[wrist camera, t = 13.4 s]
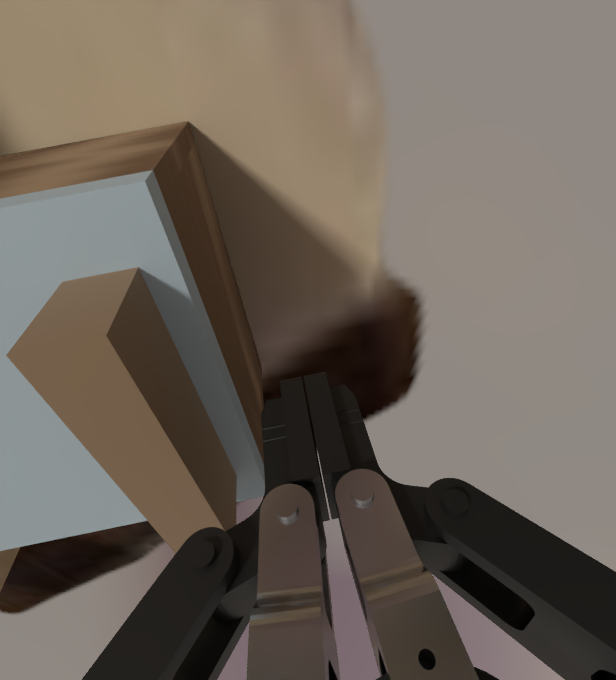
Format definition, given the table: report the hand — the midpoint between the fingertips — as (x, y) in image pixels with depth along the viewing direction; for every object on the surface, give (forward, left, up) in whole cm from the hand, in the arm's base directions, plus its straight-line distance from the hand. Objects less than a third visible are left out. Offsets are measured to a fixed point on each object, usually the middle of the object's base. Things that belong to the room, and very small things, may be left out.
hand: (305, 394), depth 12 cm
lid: (-9, 0, -2) cm, 9 cm away
